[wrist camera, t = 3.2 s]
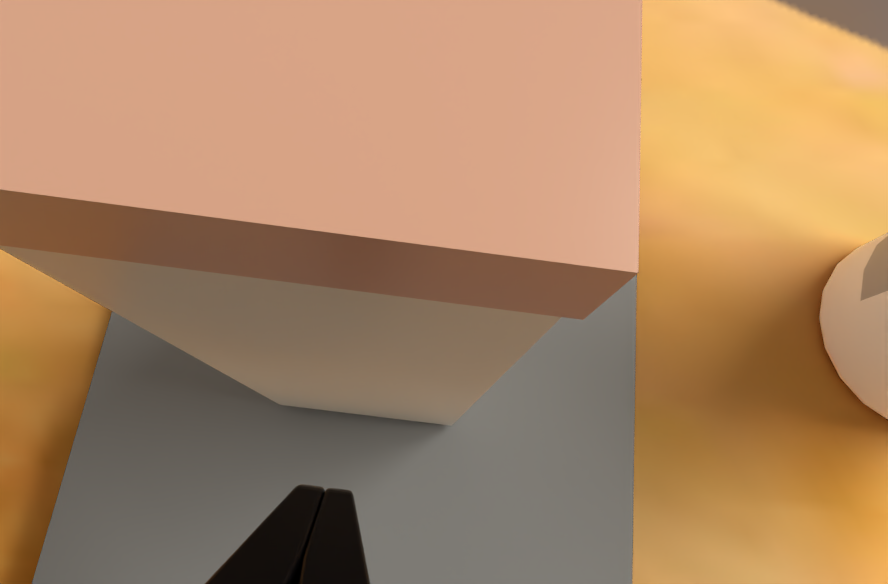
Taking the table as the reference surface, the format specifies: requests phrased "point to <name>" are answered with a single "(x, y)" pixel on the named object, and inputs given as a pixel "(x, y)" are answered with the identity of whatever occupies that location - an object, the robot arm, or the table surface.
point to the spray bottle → (859, 322)
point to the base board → (357, 468)
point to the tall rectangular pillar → (328, 181)
